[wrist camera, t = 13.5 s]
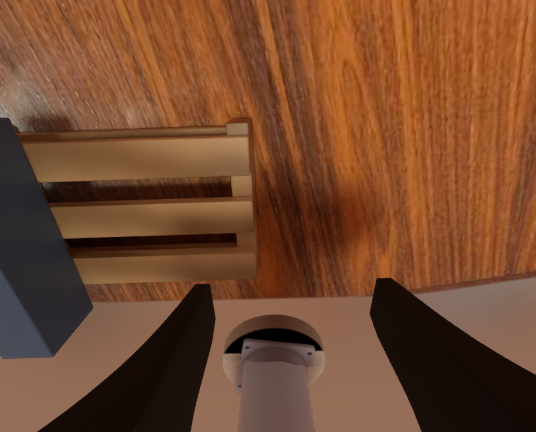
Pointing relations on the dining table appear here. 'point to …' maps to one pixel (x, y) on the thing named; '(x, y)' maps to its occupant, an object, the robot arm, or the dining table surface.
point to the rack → (154, 200)
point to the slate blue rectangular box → (33, 263)
